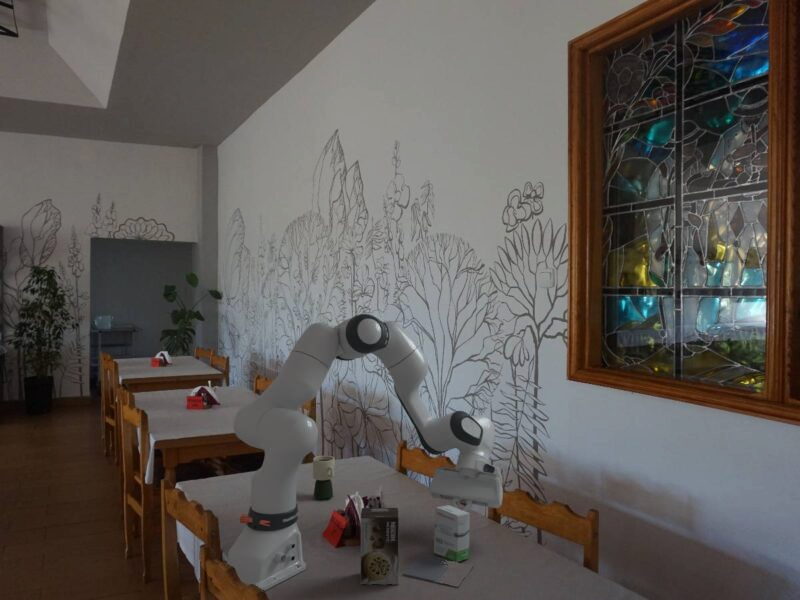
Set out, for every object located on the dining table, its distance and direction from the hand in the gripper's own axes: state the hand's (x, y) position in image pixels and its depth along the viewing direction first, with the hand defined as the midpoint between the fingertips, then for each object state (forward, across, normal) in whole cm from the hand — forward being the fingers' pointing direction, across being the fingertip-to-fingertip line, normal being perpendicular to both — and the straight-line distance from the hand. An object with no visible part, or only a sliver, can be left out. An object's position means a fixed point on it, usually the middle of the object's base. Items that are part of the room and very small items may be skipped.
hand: (459, 516), depth 167 cm
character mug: (-6, -52, +18) cm, 55 cm away
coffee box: (+24, -11, -12) cm, 29 cm away
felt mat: (+17, 0, -5) cm, 17 cm away
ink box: (+10, 0, +2) cm, 10 cm away
